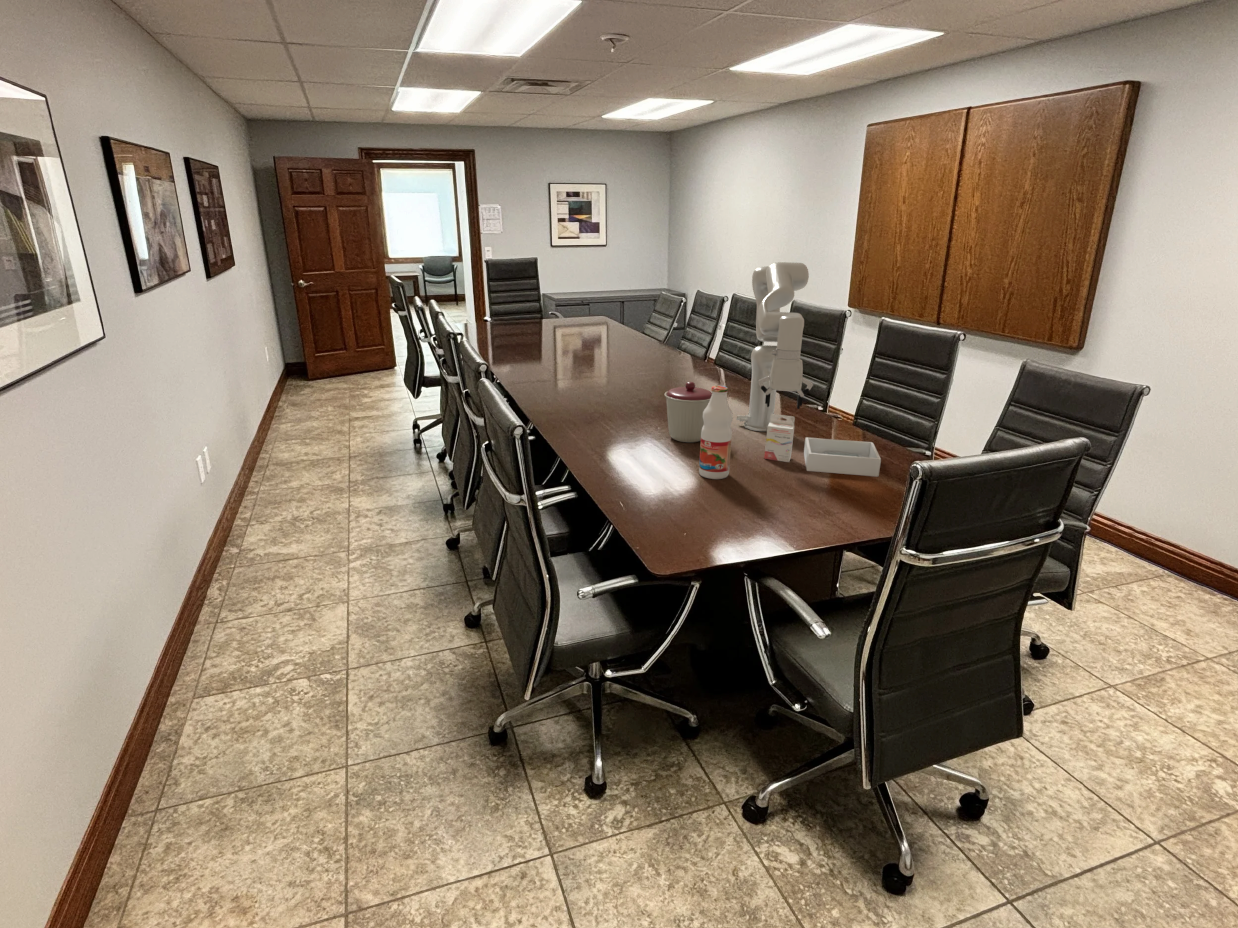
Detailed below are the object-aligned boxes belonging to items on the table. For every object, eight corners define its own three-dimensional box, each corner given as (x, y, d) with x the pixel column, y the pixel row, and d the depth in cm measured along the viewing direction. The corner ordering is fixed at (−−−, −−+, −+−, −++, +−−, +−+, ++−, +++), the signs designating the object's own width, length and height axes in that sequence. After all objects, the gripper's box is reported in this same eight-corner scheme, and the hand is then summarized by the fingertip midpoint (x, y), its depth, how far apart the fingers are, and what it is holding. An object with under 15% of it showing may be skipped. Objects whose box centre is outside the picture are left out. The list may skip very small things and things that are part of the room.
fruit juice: (734, 475, 217) (741, 387, 207) (715, 482, 211) (722, 392, 201) (711, 467, 223) (717, 382, 214) (692, 473, 217) (697, 386, 208)
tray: (806, 470, 222) (808, 453, 220) (803, 453, 238) (805, 437, 237) (878, 476, 218) (881, 459, 216) (870, 458, 235) (872, 442, 233)
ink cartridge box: (763, 459, 232) (767, 417, 227) (765, 455, 236) (769, 413, 231) (789, 462, 229) (794, 419, 224) (791, 458, 234) (795, 416, 229)
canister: (718, 435, 256) (722, 379, 249) (703, 449, 241) (706, 390, 234) (672, 429, 264) (675, 374, 257) (655, 441, 248) (657, 384, 241)
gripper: (760, 355, 219) (756, 408, 224) (816, 358, 216) (810, 411, 221) (760, 351, 226) (756, 402, 231) (815, 354, 223) (809, 406, 228)
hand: (783, 407), depth 226 cm, fingers open, 9 cm apart
